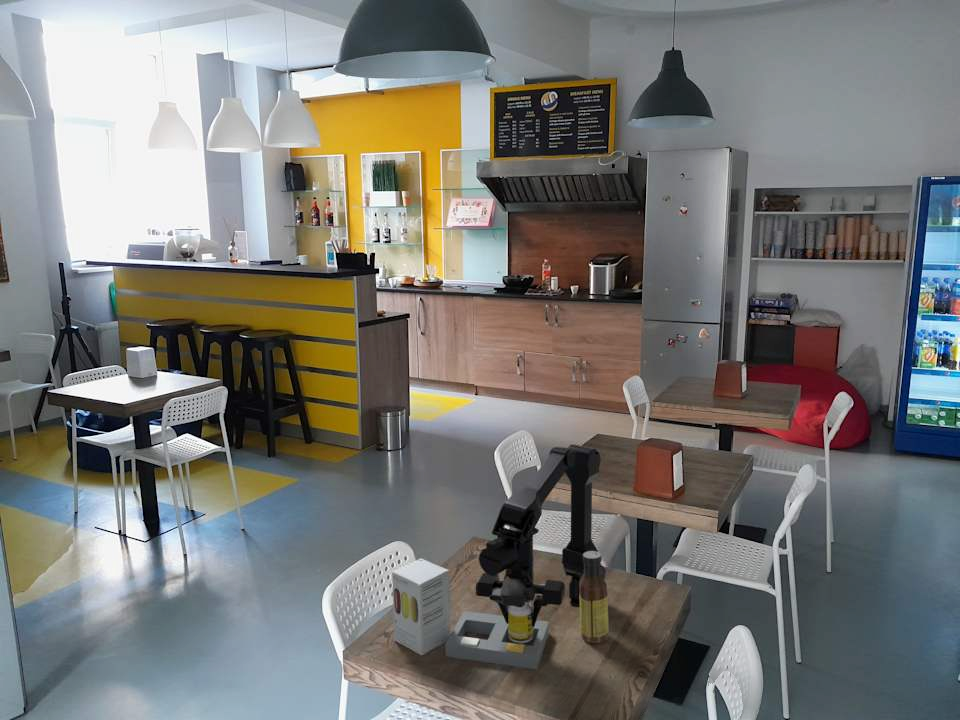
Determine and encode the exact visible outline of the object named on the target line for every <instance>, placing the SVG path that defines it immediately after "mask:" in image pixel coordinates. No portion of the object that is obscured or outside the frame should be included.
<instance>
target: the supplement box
mask: <svg viewBox="0 0 960 720" xmlns="http://www.w3.org/2000/svg"><path fill="white" fill-rule="evenodd" d="M391 581H392V609H393V634H394V635H393V638H394V642H397V643H398V644H400V645H402V646H404V647H405V648H407V649H409V650H411V651H412V652H414V653H416V654H417V655H420V656H424V655H426V654H427V653H429V652H431V651H432V650H434V649H435V648H438V647H439V646H441V645H443V644H444V643H446V642H447V640H448V638H449V636H450V635H451V633H452V631H451V599H450V598H451V597H450V595H451V593H450V592H451V590H450V588H451V587H450V584H451V582H450V570H449V569H448V568H445V567H442V566H441V565H440V566H439V565H437V564H435V563H433V562H430V561H429V560H426V559H424V558H421V557H420V558H419V559H416V560H415V561H412V562H410V563H407V564H406V565H403V566H401V567H398V568H397V569H395V570H393V571H392V572H391Z"/></svg>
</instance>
